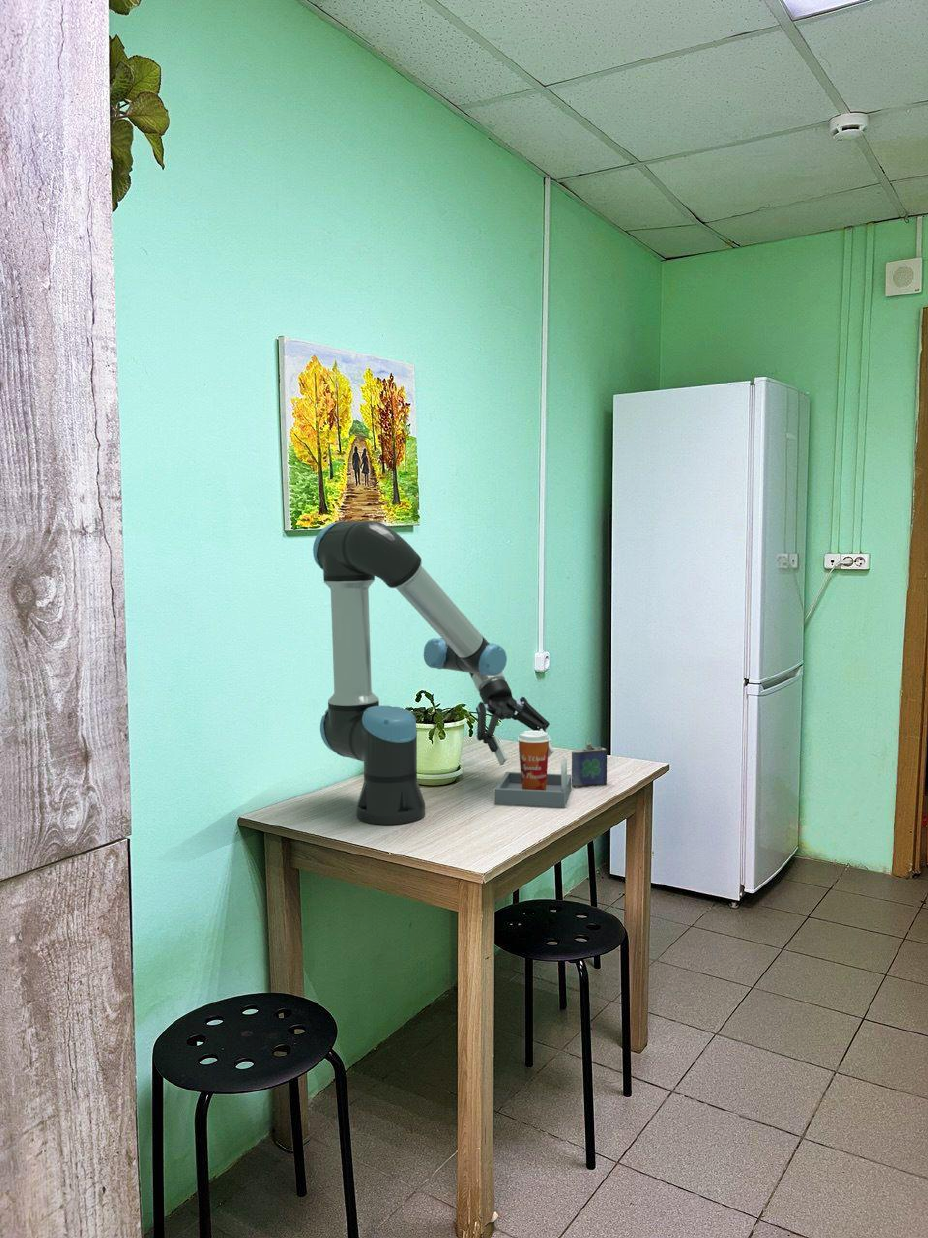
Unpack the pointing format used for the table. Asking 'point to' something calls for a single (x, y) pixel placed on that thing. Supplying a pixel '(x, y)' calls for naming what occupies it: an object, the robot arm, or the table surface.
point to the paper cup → (534, 759)
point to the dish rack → (554, 795)
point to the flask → (589, 766)
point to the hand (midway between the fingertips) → (527, 758)
